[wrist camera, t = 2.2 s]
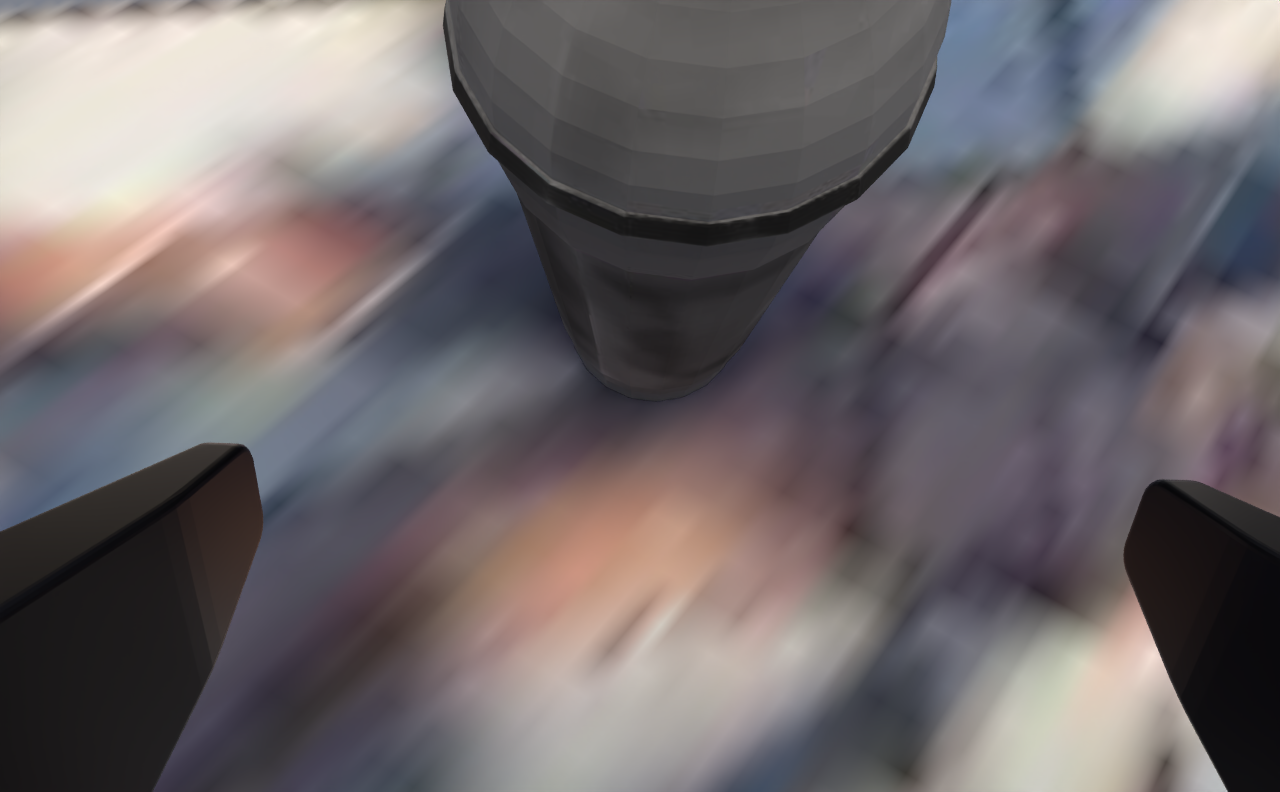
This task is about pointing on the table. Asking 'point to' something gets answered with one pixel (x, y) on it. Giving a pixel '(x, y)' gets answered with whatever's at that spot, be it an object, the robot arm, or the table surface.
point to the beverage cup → (685, 153)
